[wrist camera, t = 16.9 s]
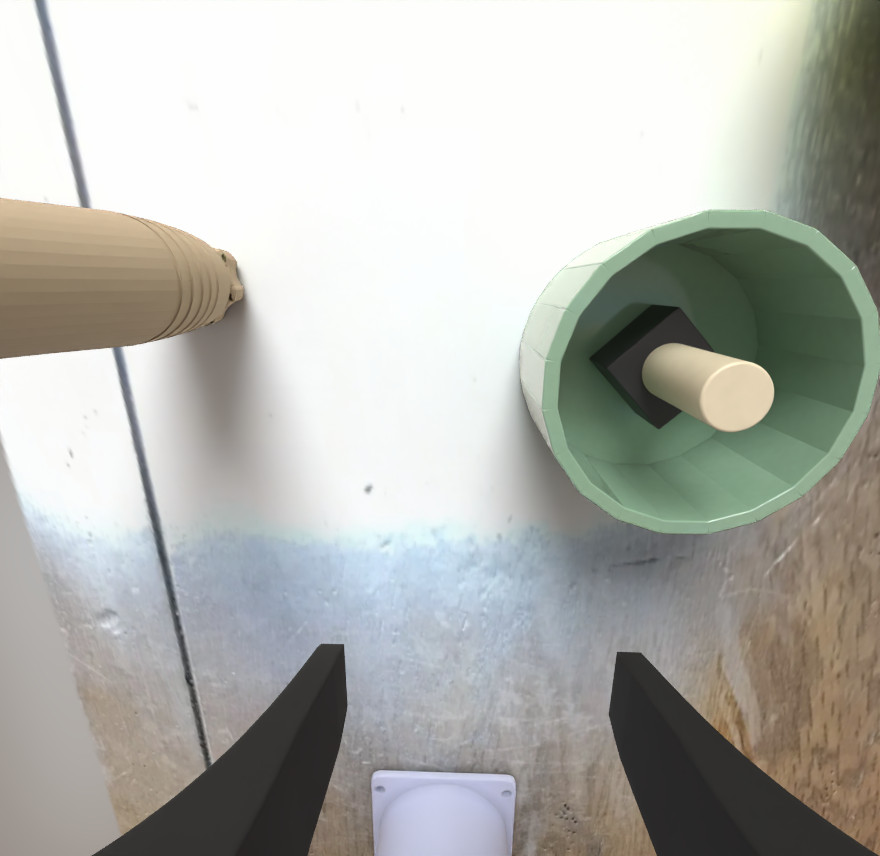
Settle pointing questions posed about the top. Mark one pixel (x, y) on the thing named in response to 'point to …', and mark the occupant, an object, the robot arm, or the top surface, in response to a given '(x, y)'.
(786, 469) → the beaker
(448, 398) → the top surface
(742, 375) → the brush
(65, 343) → the handle
